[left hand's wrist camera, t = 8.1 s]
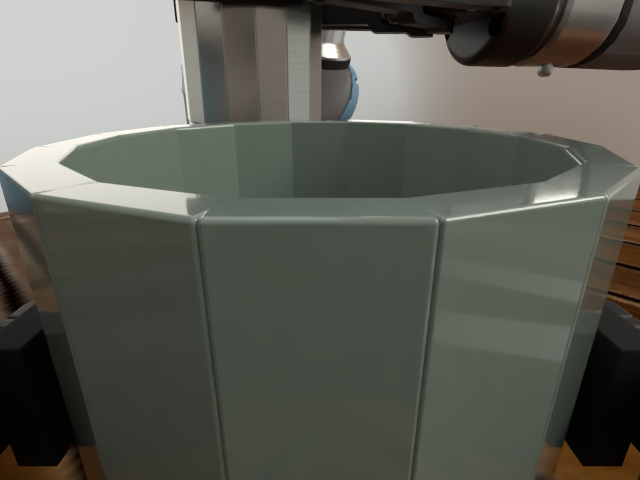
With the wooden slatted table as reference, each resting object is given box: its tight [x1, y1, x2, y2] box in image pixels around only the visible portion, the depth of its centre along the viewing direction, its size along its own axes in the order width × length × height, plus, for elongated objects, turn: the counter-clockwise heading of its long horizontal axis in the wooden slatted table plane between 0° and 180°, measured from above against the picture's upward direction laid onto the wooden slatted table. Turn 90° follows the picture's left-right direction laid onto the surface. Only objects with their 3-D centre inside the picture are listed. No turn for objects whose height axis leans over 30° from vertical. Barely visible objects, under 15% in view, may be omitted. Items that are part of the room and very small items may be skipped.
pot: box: [0, 120, 640, 480], centre depth 10 cm, size 10×10×11 cm
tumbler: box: [175, 0, 322, 124], centre depth 23 cm, size 8×8×12 cm
